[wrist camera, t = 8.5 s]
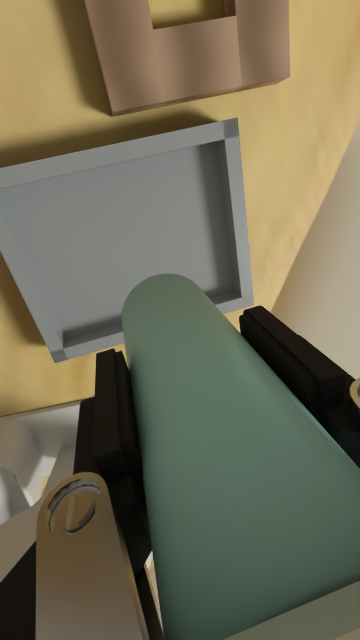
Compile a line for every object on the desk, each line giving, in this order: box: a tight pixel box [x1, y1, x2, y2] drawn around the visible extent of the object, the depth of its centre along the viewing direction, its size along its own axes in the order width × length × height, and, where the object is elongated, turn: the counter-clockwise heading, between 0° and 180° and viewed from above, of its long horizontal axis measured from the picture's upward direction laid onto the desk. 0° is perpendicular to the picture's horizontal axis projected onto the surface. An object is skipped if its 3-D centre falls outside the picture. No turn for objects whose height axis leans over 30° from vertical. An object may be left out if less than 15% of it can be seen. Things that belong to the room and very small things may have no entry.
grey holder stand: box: [0, 400, 152, 582], centre depth 28 cm, size 17×10×18 cm, turn 93°
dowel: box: [122, 274, 360, 640], centre depth 9 cm, size 4×4×11 cm
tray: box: [0, 118, 254, 363], centre depth 26 cm, size 20×16×3 cm
